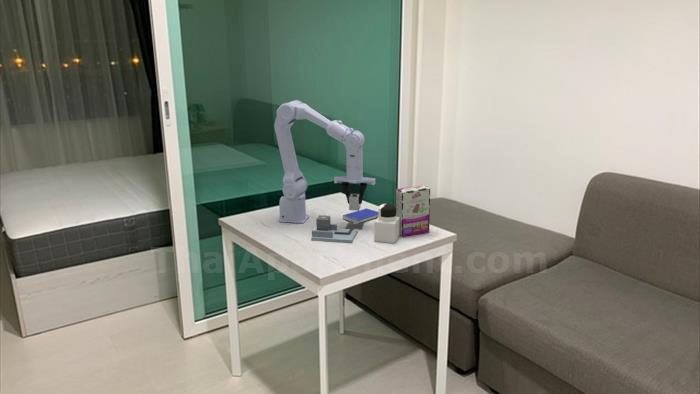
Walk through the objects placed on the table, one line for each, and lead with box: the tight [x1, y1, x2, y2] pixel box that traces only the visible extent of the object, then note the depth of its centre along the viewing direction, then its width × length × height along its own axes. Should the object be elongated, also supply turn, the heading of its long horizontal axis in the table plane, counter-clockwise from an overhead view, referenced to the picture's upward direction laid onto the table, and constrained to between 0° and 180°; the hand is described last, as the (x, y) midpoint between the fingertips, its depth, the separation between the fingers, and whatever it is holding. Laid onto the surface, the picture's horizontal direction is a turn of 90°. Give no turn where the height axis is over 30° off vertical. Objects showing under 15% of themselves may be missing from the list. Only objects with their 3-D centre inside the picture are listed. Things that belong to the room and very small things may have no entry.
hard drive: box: [342, 208, 378, 223], centre depth 201 cm, size 2×8×12 cm
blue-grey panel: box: [310, 223, 358, 244], centre depth 184 cm, size 14×12×3 cm
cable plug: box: [348, 192, 362, 211], centre depth 190 cm, size 4×4×6 cm
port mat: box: [344, 221, 365, 231], centre depth 193 cm, size 6×6×1 cm
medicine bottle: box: [373, 203, 400, 244], centre depth 179 cm, size 7×7×12 cm
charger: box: [315, 215, 332, 231], centre depth 183 cm, size 4×4×6 cm
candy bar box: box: [395, 184, 431, 238], centre depth 183 cm, size 11×5×16 cm, turn 114°
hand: (354, 202), depth 190 cm, fingers closed on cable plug, 3 cm apart
